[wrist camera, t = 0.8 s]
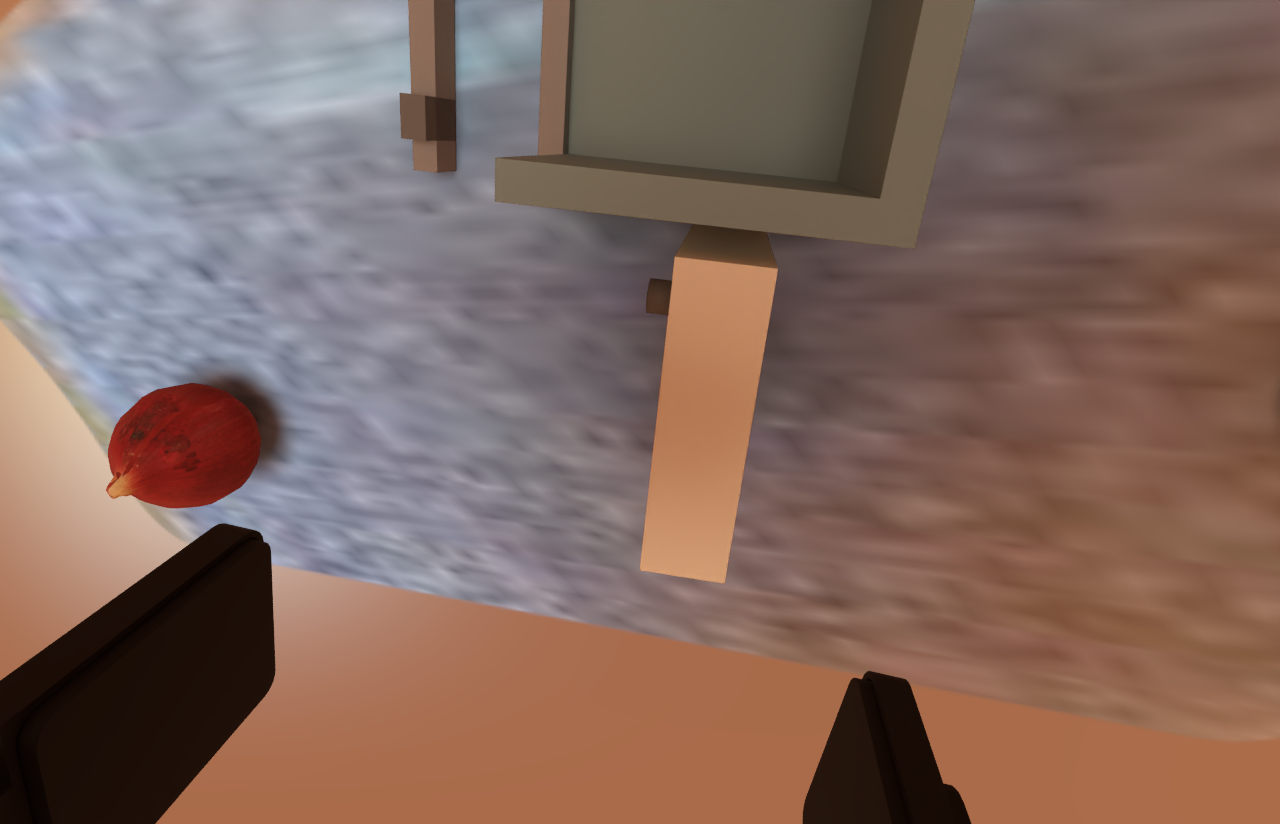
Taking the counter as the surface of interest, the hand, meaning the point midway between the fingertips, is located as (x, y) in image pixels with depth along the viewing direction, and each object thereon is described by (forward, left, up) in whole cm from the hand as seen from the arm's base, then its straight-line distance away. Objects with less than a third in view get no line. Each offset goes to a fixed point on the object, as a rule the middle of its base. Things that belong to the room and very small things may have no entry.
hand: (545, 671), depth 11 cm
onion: (+22, +8, -22) cm, 32 cm away
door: (-2, +1, -22) cm, 22 cm away
